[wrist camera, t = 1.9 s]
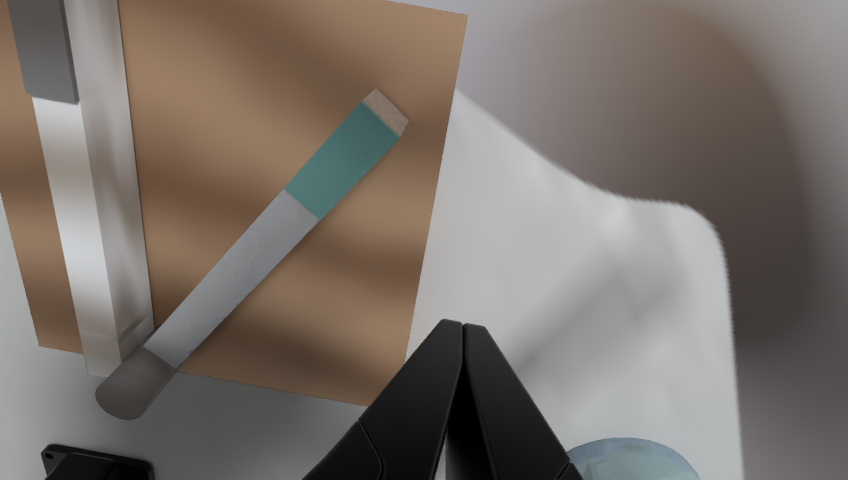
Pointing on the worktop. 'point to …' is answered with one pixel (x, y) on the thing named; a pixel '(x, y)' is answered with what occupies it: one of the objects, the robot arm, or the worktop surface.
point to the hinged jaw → (282, 225)
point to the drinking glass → (630, 461)
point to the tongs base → (218, 181)
